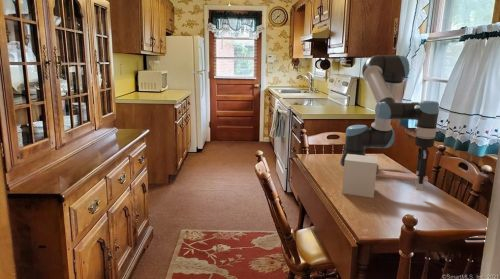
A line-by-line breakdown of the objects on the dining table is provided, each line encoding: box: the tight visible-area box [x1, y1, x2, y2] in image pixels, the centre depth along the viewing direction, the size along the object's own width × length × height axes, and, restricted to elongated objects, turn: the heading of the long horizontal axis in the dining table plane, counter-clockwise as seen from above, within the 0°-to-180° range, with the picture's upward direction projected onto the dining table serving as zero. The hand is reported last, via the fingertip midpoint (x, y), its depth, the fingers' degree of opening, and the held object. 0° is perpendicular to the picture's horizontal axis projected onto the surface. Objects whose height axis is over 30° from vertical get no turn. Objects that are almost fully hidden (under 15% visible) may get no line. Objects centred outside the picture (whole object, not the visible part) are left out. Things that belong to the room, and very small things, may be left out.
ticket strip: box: [376, 169, 429, 183], centre depth 167 cm, size 6×24×1 cm, turn 70°
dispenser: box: [341, 154, 379, 198], centre depth 172 cm, size 12×15×16 cm
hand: (418, 187), depth 165 cm, fingers closed on ticket strip, 6 cm apart
